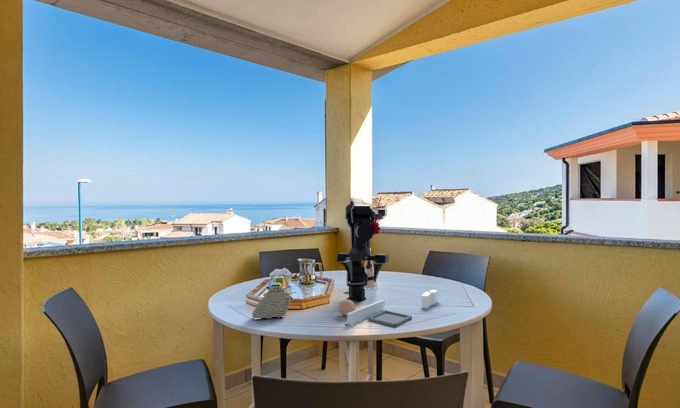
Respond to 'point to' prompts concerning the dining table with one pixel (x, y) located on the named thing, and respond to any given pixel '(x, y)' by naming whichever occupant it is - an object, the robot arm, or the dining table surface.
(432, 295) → the napkin holder
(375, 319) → the coaster
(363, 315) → the acrylic wall
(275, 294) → the fossil tooth
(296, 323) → the dining table surface
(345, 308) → the ball
